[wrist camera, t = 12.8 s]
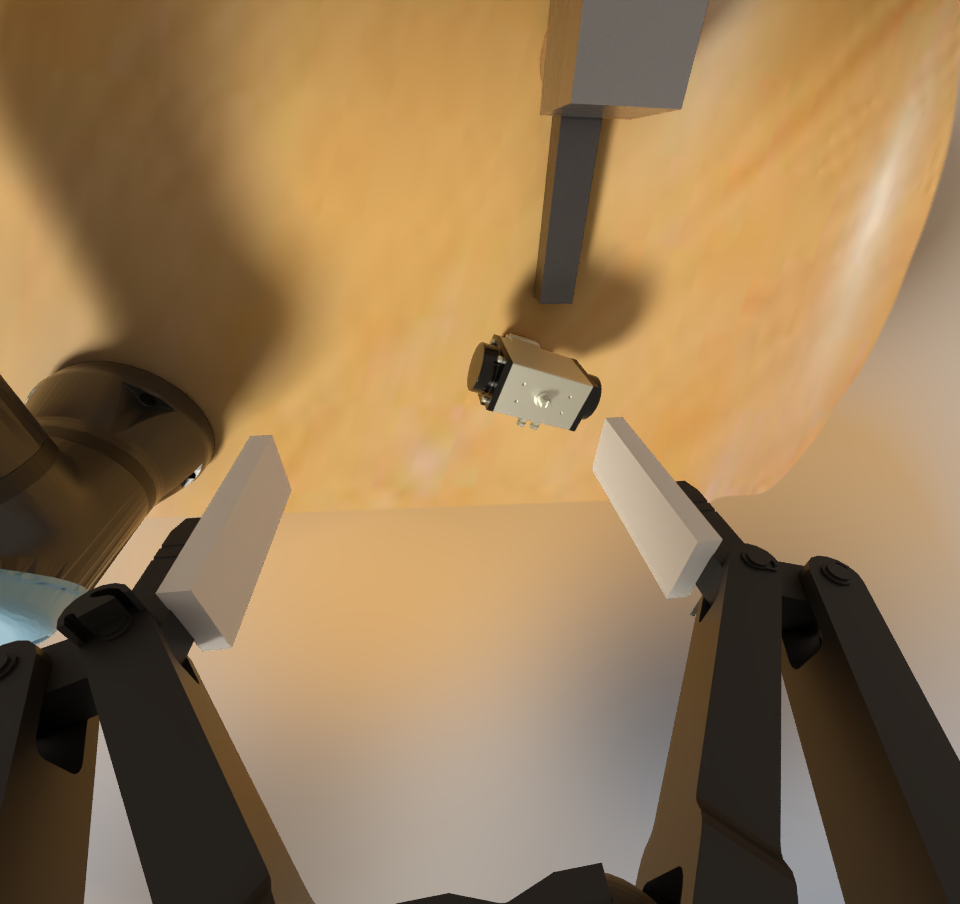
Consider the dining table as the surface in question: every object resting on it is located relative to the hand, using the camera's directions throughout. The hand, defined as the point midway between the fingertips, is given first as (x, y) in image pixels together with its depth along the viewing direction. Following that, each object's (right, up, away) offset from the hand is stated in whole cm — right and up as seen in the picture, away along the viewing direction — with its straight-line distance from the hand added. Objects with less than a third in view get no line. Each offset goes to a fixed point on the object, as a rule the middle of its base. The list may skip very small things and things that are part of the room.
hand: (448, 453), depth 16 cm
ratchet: (+9, +24, +17) cm, 31 cm away
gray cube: (+9, +28, +11) cm, 31 cm away
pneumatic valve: (+5, +11, +27) cm, 29 cm away
